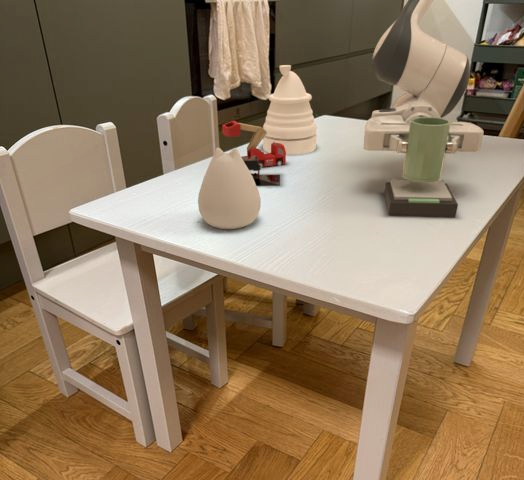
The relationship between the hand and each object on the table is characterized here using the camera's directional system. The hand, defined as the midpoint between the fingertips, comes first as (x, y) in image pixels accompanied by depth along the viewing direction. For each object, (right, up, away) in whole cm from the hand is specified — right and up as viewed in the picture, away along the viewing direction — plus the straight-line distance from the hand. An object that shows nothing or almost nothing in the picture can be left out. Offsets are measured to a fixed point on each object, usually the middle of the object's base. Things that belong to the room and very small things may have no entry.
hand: (426, 148), depth 83 cm
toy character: (-33, -12, +2) cm, 35 cm away
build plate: (-30, +1, +19) cm, 36 cm away
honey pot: (-21, +16, +39) cm, 47 cm away
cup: (0, -3, +4) cm, 5 cm away
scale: (0, -8, +6) cm, 10 cm away
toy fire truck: (-29, +7, +27) cm, 40 cm away
